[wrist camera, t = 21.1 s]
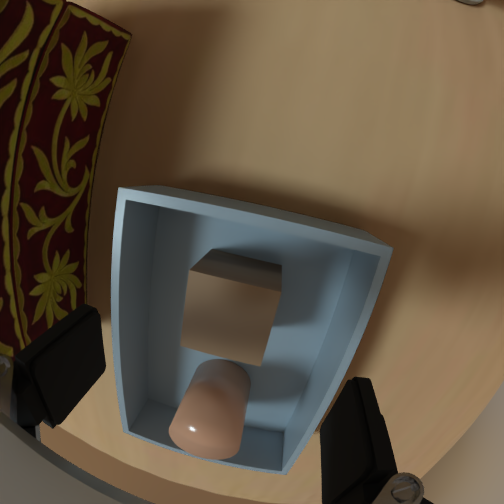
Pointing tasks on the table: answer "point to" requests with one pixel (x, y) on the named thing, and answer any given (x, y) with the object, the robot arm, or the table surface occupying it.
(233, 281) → the walnut block
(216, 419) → the canister
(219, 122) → the table surface
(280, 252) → the tote
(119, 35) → the decorative box
